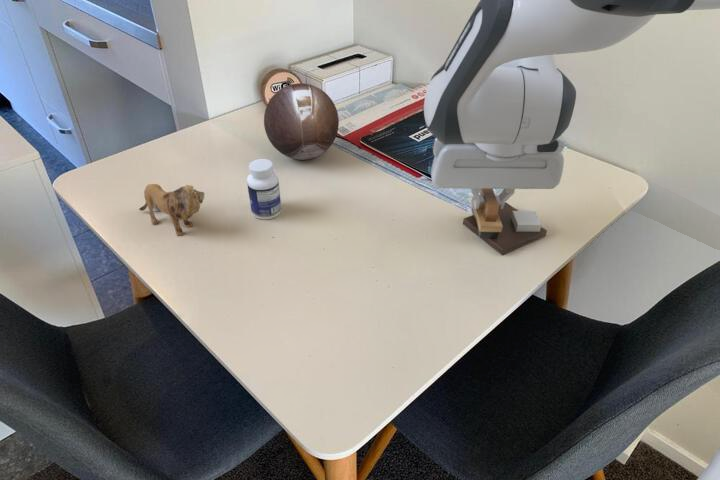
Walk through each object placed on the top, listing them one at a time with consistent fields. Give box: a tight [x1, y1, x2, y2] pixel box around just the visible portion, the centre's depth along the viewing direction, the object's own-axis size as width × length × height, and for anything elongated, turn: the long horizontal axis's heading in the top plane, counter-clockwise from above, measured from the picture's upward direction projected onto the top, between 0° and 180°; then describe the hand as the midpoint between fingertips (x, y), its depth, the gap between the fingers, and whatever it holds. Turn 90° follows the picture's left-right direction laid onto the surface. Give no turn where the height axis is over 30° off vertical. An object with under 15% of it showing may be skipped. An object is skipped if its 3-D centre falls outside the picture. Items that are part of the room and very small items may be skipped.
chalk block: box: [511, 210, 542, 232], centre depth 89 cm, size 4×4×2 cm
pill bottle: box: [246, 158, 282, 220], centre depth 91 cm, size 5×5×10 cm
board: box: [462, 201, 548, 256], centre depth 90 cm, size 10×10×1 cm
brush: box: [470, 189, 503, 239], centre depth 88 cm, size 8×4×6 cm, turn 0°
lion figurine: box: [138, 183, 205, 237], centre depth 88 cm, size 15×5×9 cm, turn 65°
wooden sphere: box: [263, 82, 340, 161], centre depth 106 cm, size 15×15×15 cm
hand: (488, 207), depth 87 cm, fingers closed on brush, 2 cm apart
